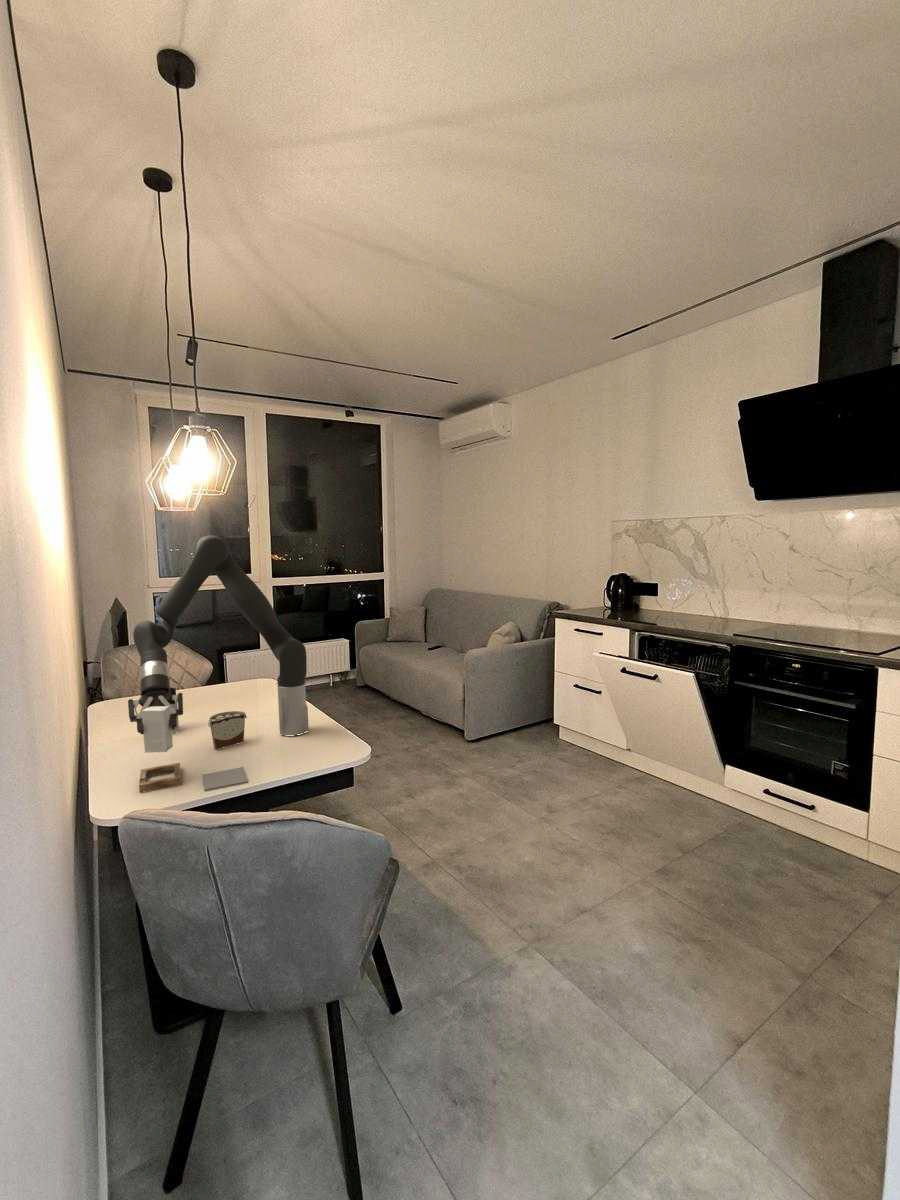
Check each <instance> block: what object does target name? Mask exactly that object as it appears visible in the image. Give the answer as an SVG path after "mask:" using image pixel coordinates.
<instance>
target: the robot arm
mask: <svg viewBox="0 0 900 1200" xmlns="http://www.w3.org/2000/svg"><path fill="white" fill-rule="evenodd" d="M212 573H214V574H215V575H216V577H217V578H218V579H219V581H220V582H221V583H222V586H223V588H224V589H225V591H226V592H227V594H228V596H229V598H230V599H231V600H232V602H233V604H234V605H235V606H236V607H237V609H238V610H239V611H240V613H241V614H242V615H243V616H244V618H245V619H246V620H247V622H249V624H250V625H251V626H252V627H253V628H254V629H255V630H256V631H257V632H258V633H259V634H260V635H261V637H262V638H263V639H264V640H265V642H266V644H267V645H268V647H269V649H270V650H271V652H272V654H273V656H274V657H275V659H276V660H277V661H278V663H279V665H278V666H279V675H278V677H277V679H276V680H277V697H278V698H277V702H278V704H277V705H278V720H279V724H278V725H279V727H278V728H279V735H280V734H282V735H297V734H301V733H304V732H306V731H309V708H308V707H309V706H308V704H307V697H306V696H307V695H306V694H307V693H306V677H307V667H308V666H307V665H308V663H307V649H306V646H305V644H304V643H303V642H302V641H300V640H298V639H296V638H294V637H293V636H292V635H291V634H290V633H289V632H288V631H287V630H286V629H285V628H284V627H283V625H282V624H281V622H280V621H279V619H278V616H277V614H276V612H275V610H274V608H273V606H272V604H271V602H270V601H269V600H268V598H267V597H266V595H265V594H264V592H263V591H262V590H261V588H260V587H259V586H258V585H257V584H256V582H254V581H253V580H252V579H251V577H250V576H249V575H247V573H245V572H244V570H243V569H241V567H240V566H239V564H238V563H237V561H236V560H235V559H234V557H233V555H232V554H231V552H230V550H229V547H228V544H227V542H225V540H223V539H222V538H221V537H220V536H218V535H212V534H209V535H205V536H202V537H201V538H199V540H198V541H197V543H196V546H195V553H194V555H193V558H192V559H191V561H190V564H189V565H188V566H187V568H186V569H185V571H184V573H182V574H181V576H180V577H179V579H177V580H176V582H175V583H174V584H173V586H171V588H170V589H169V590H168V592H167V593H166V594H165V595H164V597H163V599H162V600H161V601H160V603H159V604H158V605H157V607H156V609H155V614H156V615H157V616H158V617H160V618H161V619H162V624H158V623H155V622H153V621H150V620H142V621H140V622H138V623H137V624H136V625H135V627H134V630H133V632H132V633H133V634H132V636H133V641H134V644H135V647H136V650H137V652H138V654H139V657H140V673H139V679H140V680H139V683H140V697H139V699H135V700H133V699H132V698H131V699H128V700H127V704H128V705H127V706H128V718H129V721H130V723H133V722H135V723H136V729H137V733H138V734H139V733H140V735H144V734H143V722H142V710H144V709H146V708H148V707H156V706H170V714H171V728H172V730H174V727H176V726H177V720H176V717H177V716H178V717H179V716H182V715H183V714H184V701H183V700H184V698H183V697H184V696H183V693H182V692H179V693H177V694H176V695H172V694H171V693H170V688H171V682H170V678H171V677H170V670H169V667H168V655H167V651H166V649H164V648H166V647H167V646H169V644H170V643H171V642H172V639H173V636H174V633H175V630H176V627H177V624H178V622H179V619H180V618H181V617H182V615H183V614H184V612H185V611H186V609H187V608H188V606H189V605H190V603H191V602H192V600H193V599H194V597H195V596H196V594H197V593H198V592H199V590H200V588H201V587H202V586H203V584H204V582H205V581H206V580H207V579H208V578H209V577H210V576H211V575H212ZM172 700H175V702H177V707H178V709H177V710H174V709H173V707H172V706H171V705H170V703H171V701H172ZM138 705H140V706H141V709H140V710H139V712H138V713H137V714H138V715H136V713H135V708H136V709H137V708H138ZM304 734H305V733H304ZM282 735H281V736H282Z"/></svg>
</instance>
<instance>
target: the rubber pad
mask: <svg viewBox="0 0 900 1200" xmlns="http://www.w3.org/2000/svg"><path fill="white" fill-rule="evenodd" d="M201 776H202V782H203V783H202V784H203V788H204V792H207V791H213V790H217V789H223V788H227V787H232V786H238V785H243V784H248V783H249V779H248V777H247V774H246V771H245V768H244V766H239V767H234V768H230V769H223V770H219V771H214V772H207V773H203V774H201Z"/></svg>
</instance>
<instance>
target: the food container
mask: <svg viewBox="0 0 900 1200" xmlns="http://www.w3.org/2000/svg"><path fill="white" fill-rule="evenodd" d="M247 718H248V717H247V714H246V712H244V711H242V710H240V711H239V710H234V711H233V710H231V711H230V710H228V711H224V712H219V713H216V714H215V713H214V714H213V715H211V716H210V717H209V719H208V722H207V726H208V727H209V728H210V731H211V736H212V738H211V739H212V743H213V749H214V750H215V751H216V750H220V748H221V749H224V748H223V747H225V748H227V747H231V745H232V746H235V745H234V744H236V745H238V744H237V743H240V744H242V743H241V742H243V743H245V725H246V719H247Z"/></svg>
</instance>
